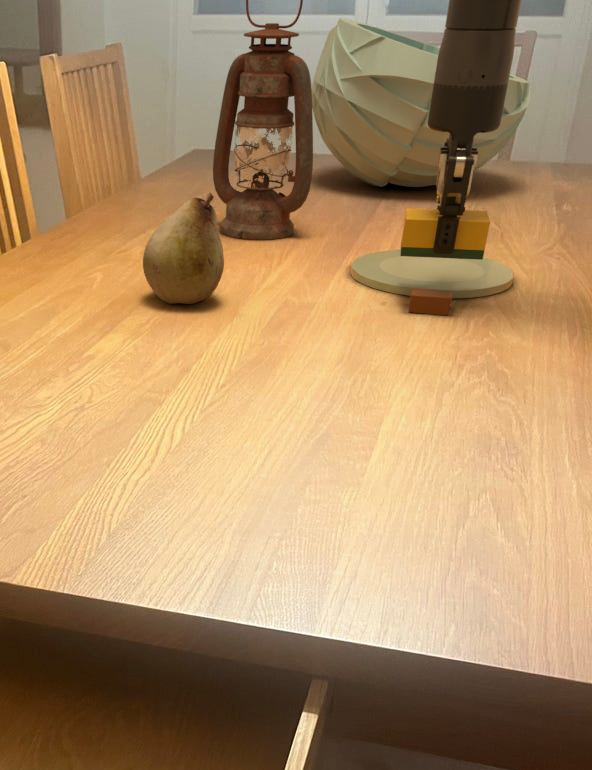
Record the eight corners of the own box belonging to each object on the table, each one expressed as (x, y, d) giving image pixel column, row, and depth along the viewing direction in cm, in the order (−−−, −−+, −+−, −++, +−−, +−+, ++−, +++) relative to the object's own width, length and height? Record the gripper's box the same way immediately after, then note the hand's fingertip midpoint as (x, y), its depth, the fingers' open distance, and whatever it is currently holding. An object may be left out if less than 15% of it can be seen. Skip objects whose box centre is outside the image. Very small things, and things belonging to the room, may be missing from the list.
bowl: (455, 195, 189) (512, 72, 176) (485, 239, 161) (555, 96, 147) (287, 140, 187) (331, 11, 174) (287, 174, 159) (340, 23, 146)
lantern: (285, 246, 137) (313, -58, 116) (191, 230, 145) (202, -56, 125) (322, 232, 144) (355, -57, 123) (230, 217, 152) (247, -55, 132)
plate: (506, 261, 129) (507, 253, 128) (518, 303, 113) (520, 294, 113) (354, 253, 133) (355, 245, 133) (346, 292, 117) (347, 284, 117)
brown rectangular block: (448, 308, 112) (451, 290, 111) (448, 315, 110) (452, 297, 109) (408, 305, 113) (411, 287, 112) (408, 312, 111) (411, 294, 110)
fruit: (231, 310, 112) (238, 199, 105) (152, 315, 110) (155, 203, 103) (206, 286, 120) (212, 181, 113) (133, 291, 118) (134, 185, 112)
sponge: (479, 247, 113) (487, 210, 110) (482, 259, 108) (490, 221, 106) (401, 244, 115) (406, 208, 112) (400, 256, 110) (405, 219, 108)
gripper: (514, 86, 95) (479, 263, 105) (504, 73, 106) (473, 233, 116) (435, 85, 97) (408, 260, 106) (433, 72, 108) (409, 231, 118)
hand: (442, 245), depth 111 cm, fingers closed on sponge, 6 cm apart
